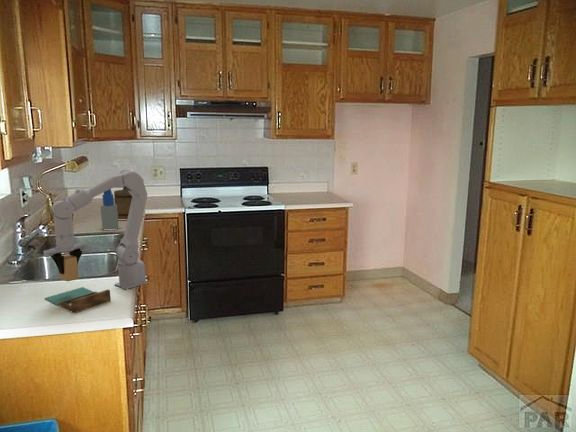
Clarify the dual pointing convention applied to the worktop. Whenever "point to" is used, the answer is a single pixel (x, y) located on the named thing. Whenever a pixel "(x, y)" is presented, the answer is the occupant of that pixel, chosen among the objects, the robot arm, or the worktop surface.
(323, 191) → the worktop surface
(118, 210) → the wooden container
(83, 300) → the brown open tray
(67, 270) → the block
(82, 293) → the mat
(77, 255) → the robot arm
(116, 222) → the spray bottle
